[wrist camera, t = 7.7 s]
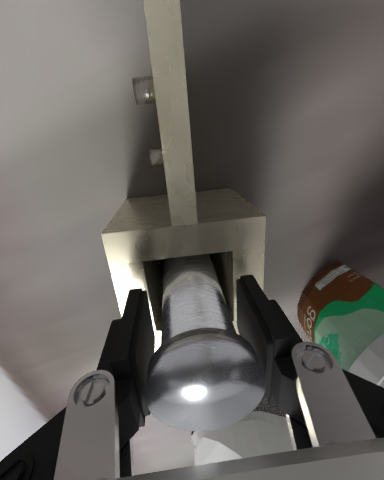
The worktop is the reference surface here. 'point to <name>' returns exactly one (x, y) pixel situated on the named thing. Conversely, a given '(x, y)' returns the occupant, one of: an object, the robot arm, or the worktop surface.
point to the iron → (243, 439)
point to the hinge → (178, 192)
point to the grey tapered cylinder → (200, 354)
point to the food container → (346, 319)
